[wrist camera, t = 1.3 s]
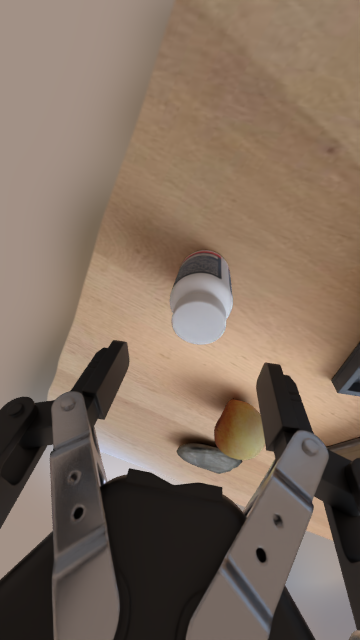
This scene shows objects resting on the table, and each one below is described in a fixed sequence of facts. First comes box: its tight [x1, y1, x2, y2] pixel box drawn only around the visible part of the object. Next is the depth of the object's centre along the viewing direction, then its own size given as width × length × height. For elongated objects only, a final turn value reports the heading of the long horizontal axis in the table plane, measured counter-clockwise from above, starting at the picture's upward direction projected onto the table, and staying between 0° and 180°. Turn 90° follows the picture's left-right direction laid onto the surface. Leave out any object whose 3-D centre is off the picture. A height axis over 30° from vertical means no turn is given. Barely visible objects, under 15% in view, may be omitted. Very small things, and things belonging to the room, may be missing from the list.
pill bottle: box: [170, 250, 233, 344], centre depth 19 cm, size 5×5×9 cm
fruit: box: [214, 398, 265, 460], centre depth 31 cm, size 8×8×8 cm
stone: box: [177, 444, 242, 474], centre depth 45 cm, size 13×9×3 cm
